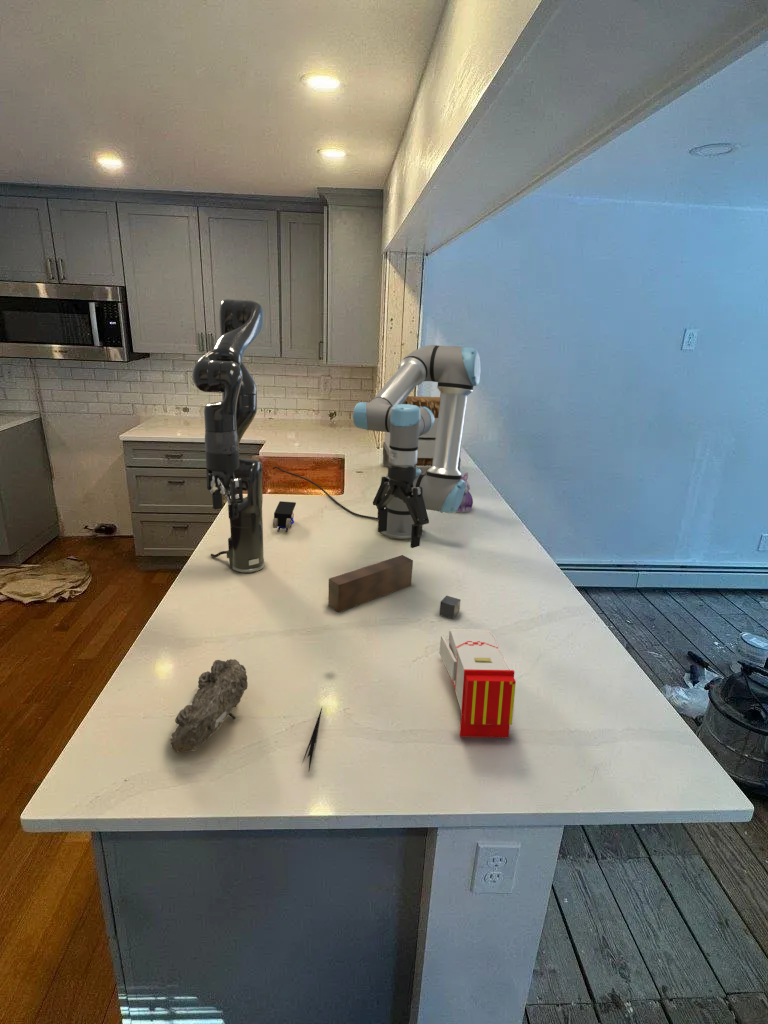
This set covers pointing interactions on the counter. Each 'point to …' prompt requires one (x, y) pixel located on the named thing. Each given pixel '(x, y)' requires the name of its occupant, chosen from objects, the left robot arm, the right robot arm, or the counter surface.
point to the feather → (313, 740)
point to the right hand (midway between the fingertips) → (398, 538)
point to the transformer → (425, 440)
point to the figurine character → (284, 515)
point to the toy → (479, 682)
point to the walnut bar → (369, 583)
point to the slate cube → (449, 607)
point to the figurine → (465, 497)
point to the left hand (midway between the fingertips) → (225, 513)
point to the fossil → (210, 704)
